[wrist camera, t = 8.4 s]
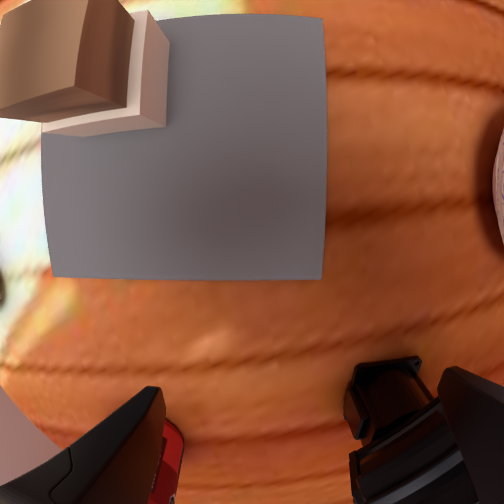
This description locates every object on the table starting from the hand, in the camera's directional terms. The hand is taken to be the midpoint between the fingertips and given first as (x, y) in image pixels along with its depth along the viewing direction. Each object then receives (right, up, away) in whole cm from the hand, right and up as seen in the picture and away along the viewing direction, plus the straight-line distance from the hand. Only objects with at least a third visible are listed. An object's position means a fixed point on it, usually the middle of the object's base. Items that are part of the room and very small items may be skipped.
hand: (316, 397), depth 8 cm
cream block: (-10, +15, +9) cm, 20 cm away
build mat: (-7, +11, +10) cm, 17 cm away
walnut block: (-10, +13, +4) cm, 17 cm away
